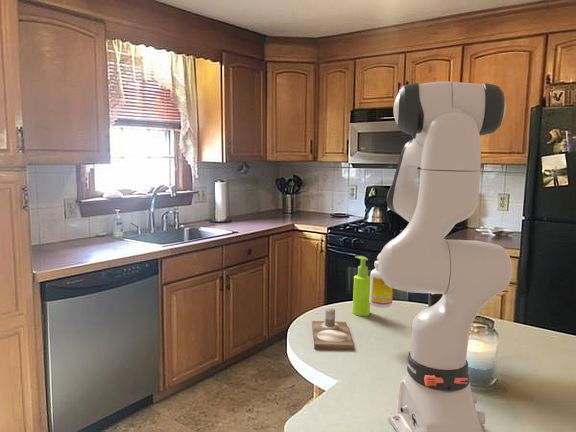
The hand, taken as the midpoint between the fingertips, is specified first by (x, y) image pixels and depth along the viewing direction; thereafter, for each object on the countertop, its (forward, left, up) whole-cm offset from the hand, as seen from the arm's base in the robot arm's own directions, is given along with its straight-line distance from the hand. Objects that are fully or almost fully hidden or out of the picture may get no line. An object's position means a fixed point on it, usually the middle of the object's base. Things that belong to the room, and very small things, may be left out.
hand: (379, 280), depth 136 cm
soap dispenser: (+25, +1, -19) cm, 32 cm away
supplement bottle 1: (0, -1, -8) cm, 8 cm away
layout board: (+3, +13, -19) cm, 23 cm away
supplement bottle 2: (+21, -25, -19) cm, 38 cm away
